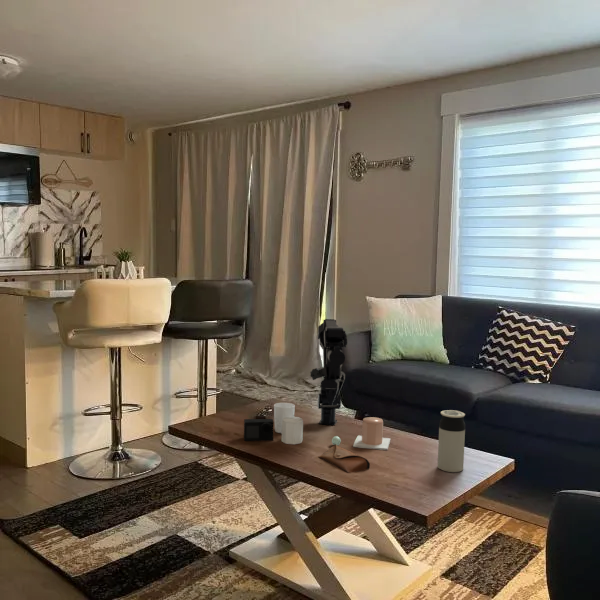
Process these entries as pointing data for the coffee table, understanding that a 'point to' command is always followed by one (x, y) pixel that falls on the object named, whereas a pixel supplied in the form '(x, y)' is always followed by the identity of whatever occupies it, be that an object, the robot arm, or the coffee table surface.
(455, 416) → the travel mug
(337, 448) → the sunglasses case
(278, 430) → the white cup
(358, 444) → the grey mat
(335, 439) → the pale green marble
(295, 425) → the off-white cup
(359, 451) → the coffee table surface
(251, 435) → the digital camera
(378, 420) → the terracotta cup
